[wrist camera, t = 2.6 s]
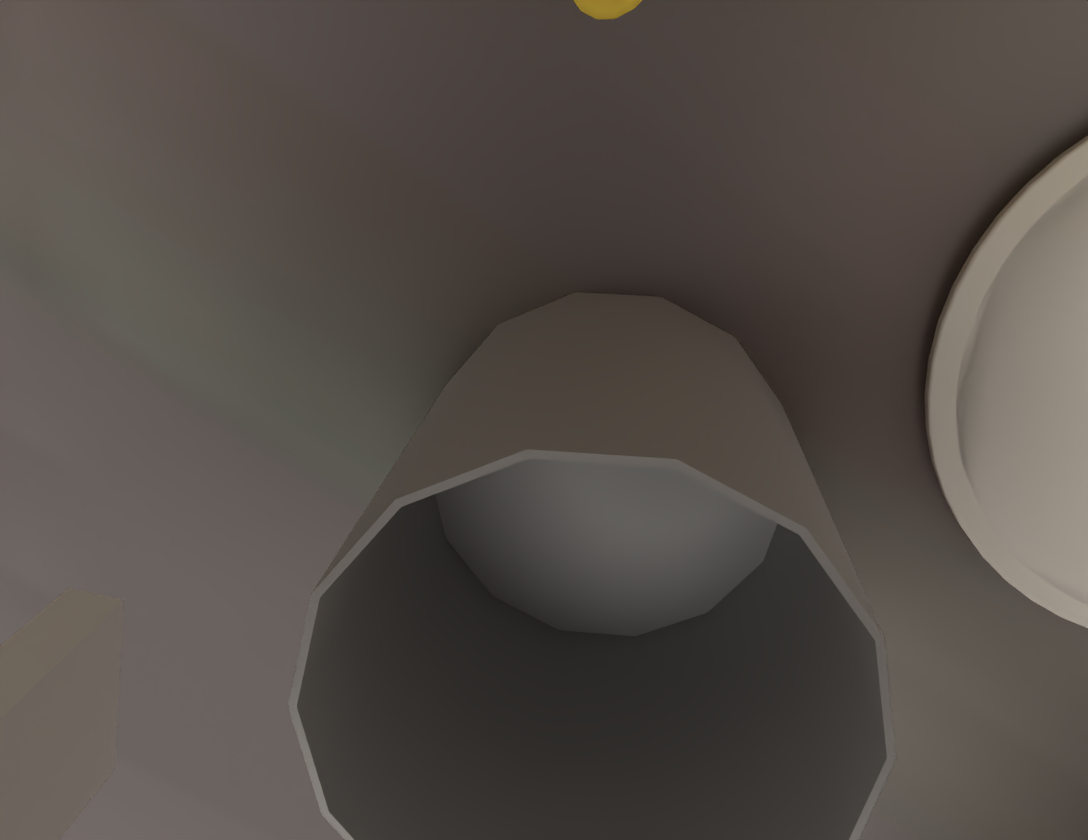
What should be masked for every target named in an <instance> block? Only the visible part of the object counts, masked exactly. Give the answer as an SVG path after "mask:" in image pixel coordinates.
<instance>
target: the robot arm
mask: <svg viewBox="0 0 1088 840" xmlns="http://www.w3.org/2000/svg"><path fill="white" fill-rule="evenodd" d="M123 611H124V600H122V599H117V598H113V597H108V596H103V595H99V594H94V593H89V592H85V591H80V590H76V589H71V588H68V589H67V590H66V591H65V592H63V593H62V594H61V595H60V596H59V597H58V598H56V599H55V600H54V601H53V602H52V603H50V604H49V605H48V606H47V607H46V608H45V609H43V610H42V611H41V612H40V613H39V614H38V615H36V616H35V617H34V618H33V619H32V620H30V621H29V622H28V623H27V624H26V625H25V626H23V627H22V628H21V629H20V630H19V631H17V632H16V633H15V634H14V635H13V636H12V637H10V638H9V639H8V640H7V641H6V642H5V643H3V644H2V645H1V646H0V840H59V839H60V838H61V837H62V835H63V834H64V833H65V832H66V830H67V829H68V828H69V827H70V825H71V824H72V823H73V821H74V820H75V819H76V818H77V816H78V815H79V814H80V813H81V811H82V810H83V809H84V808H85V806H86V805H87V804H88V802H89V801H90V800H91V799H92V797H93V796H94V795H95V794H96V792H97V791H98V790H99V789H100V787H101V786H102V785H103V783H104V782H105V781H106V780H107V778H108V777H109V776H110V775H111V773H112V772H113V771H114V767H115V749H116V732H117V715H118V698H119V680H120V663H121V646H122V628H123Z"/></svg>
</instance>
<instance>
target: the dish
mask: <svg viewBox="0 0 1088 840" xmlns="http://www.w3.org/2000/svg"><path fill="white" fill-rule="evenodd" d="M925 425H926V433H927V439H928V444H929V450H930V456H931V461H932V464H933V467H934V470H935V473H936V476H937V479H938V482H939V485H940V488H941V491H942V493H943V495H944V497H945V499H946V501H947V503H948V505H949V507H950V509H951V511H952V513H953V515H954V517H955V519H956V521H957V522H958V523H959V525H960V526H961V528H962V529H963V530H964V532H965V533H966V535H967V536H968V537H969V539H970V540H971V541H972V543H973V544H974V546H975V547H976V548H977V550H978V551H979V553H980V554H981V555H982V557H983V558H984V559H985V560H986V561H987V562H988V563H989V564H990V565H991V566H992V567H993V568H994V569H995V570H996V571H997V572H998V573H999V574H1000V575H1001V576H1002V577H1003V578H1004V579H1005V580H1006V581H1007V582H1008V583H1010V584H1011V585H1012V586H1014V587H1015V588H1016V589H1017V590H1019V591H1020V592H1021V593H1023V594H1024V595H1025V596H1027V597H1028V598H1029V599H1030V600H1032V601H1034V602H1035V603H1037V604H1039V605H1041V606H1042V607H1044V608H1046V609H1048V610H1049V611H1051V612H1053V613H1055V614H1056V615H1058V616H1060V617H1062V618H1064V619H1067V620H1069V621H1072V622H1074V623H1076V624H1079V625H1081V626H1084V627H1086V628H1088V136H1086V137H1085V138H1083V139H1082V140H1080V141H1079V142H1077V143H1076V144H1074V145H1073V146H1072V147H1070V148H1069V149H1067V150H1066V151H1064V152H1063V153H1061V154H1060V155H1059V156H1057V157H1056V158H1055V159H1054V160H1053V161H1052V162H1051V163H1049V164H1048V165H1047V166H1046V167H1045V168H1044V169H1042V170H1041V171H1040V172H1039V173H1038V174H1037V175H1036V176H1034V177H1033V178H1032V179H1031V180H1030V181H1029V182H1028V183H1026V184H1025V185H1024V186H1023V188H1022V189H1021V190H1020V191H1019V192H1018V193H1017V194H1016V195H1015V196H1014V197H1013V198H1012V200H1011V201H1010V202H1009V203H1008V204H1007V205H1006V206H1005V207H1004V208H1003V209H1002V211H1001V212H1000V213H999V214H998V215H997V216H996V217H995V219H994V220H993V221H992V223H991V224H990V226H989V227H988V228H987V230H986V231H985V233H984V234H983V235H982V237H981V238H980V239H979V241H978V242H977V244H976V245H975V246H974V248H973V249H972V251H971V253H970V254H969V256H968V258H967V260H966V262H965V263H964V265H963V267H962V269H961V271H960V272H959V274H958V276H957V278H956V280H955V281H954V283H953V285H952V287H951V290H950V292H949V295H948V298H947V300H946V303H945V305H944V308H943V310H942V313H941V315H940V318H939V320H938V323H937V327H936V331H935V335H934V339H933V343H932V347H931V351H930V354H929V359H928V368H927V377H926V386H925Z"/></svg>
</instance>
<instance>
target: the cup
mask: <svg viewBox="0 0 1088 840" xmlns="http://www.w3.org/2000/svg"><path fill="white" fill-rule="evenodd" d="M288 708H289V711H290V714H291V717H292V721H293V724H294V727H295V730H296V733H297V737H298V740H299V743H300V746H301V749H302V753H303V756H304V759H305V762H306V766H307V769H308V772H309V775H310V778H311V782H312V785H313V788H314V791H315V795H316V798H317V801H318V804H319V807H320V811H321V814H322V815H323V816H324V817H325V818H326V820H327V821H328V822H329V823H330V824H331V825H332V826H333V827H334V828H335V829H336V830H337V832H338V833H339V834H340V835H341V836H342V837H343V838H344V839H345V840H858V839H859V837H860V835H861V833H862V831H863V829H864V827H865V825H866V822H867V820H868V818H869V816H870V814H871V812H872V810H873V808H874V805H875V803H876V801H877V799H878V797H879V795H880V793H881V791H882V788H883V786H884V784H885V782H886V780H887V778H888V776H889V774H890V771H891V769H892V767H893V765H894V763H895V761H896V749H895V738H894V728H893V718H892V707H891V697H890V687H889V677H888V666H887V656H886V646H885V637H884V635H883V633H882V631H881V628H880V626H879V624H878V621H877V619H876V617H875V615H874V612H873V610H872V608H871V606H870V603H869V601H868V599H867V597H866V594H865V592H864V590H863V587H862V585H861V583H860V581H859V578H858V576H857V574H856V572H855V569H854V567H853V565H852V562H851V560H850V558H849V556H848V553H847V551H846V549H845V547H844V544H843V542H842V540H841V538H840V535H839V533H838V531H837V528H836V526H835V524H834V522H833V519H832V517H831V515H830V513H829V510H828V508H827V506H826V503H825V501H824V499H823V497H822V494H821V492H820V490H819V488H818V485H817V483H816V481H815V479H814V476H813V474H812V472H811V469H810V467H809V465H808V463H807V460H806V458H805V456H804V454H803V451H802V449H801V447H800V444H799V442H798V440H797V438H796V435H795V433H794V431H793V429H792V426H791V424H790V422H789V419H788V417H787V415H786V413H785V410H784V408H783V406H782V404H781V402H780V401H779V399H778V398H777V396H776V395H775V394H774V392H773V391H772V389H771V388H770V386H769V385H768V384H767V382H766V381H765V379H764V378H763V376H762V375H761V373H760V372H759V371H758V369H757V368H756V366H755V365H754V363H753V362H752V361H751V359H750V358H749V356H748V355H747V353H746V352H745V350H744V349H743V348H742V346H741V345H740V343H739V342H738V340H737V339H736V338H735V337H734V336H732V335H730V334H729V333H727V332H725V331H723V330H721V329H719V328H718V327H716V326H714V325H712V324H710V323H708V322H707V321H705V320H703V319H701V318H699V317H697V316H696V315H694V314H692V313H690V312H688V311H686V310H685V309H683V308H681V307H679V306H677V305H675V304H674V303H672V302H670V301H668V300H666V299H664V298H663V297H658V296H639V295H620V294H601V293H583V292H575V293H572V294H570V295H567V296H565V297H563V298H560V299H558V300H555V301H553V302H550V303H548V304H546V305H543V306H541V307H538V308H536V309H534V310H531V311H529V312H526V313H524V314H521V315H519V316H517V317H514V318H512V319H509V320H507V321H505V322H502V323H500V324H498V325H497V326H496V328H495V329H494V330H493V331H492V332H491V333H490V335H489V336H488V337H487V338H486V339H485V340H484V341H483V343H482V344H481V345H480V346H479V347H478V348H477V349H476V351H475V352H474V353H473V354H472V355H471V356H470V358H469V359H468V360H467V361H466V362H465V363H464V364H463V366H462V367H461V368H460V369H459V370H458V371H457V372H456V374H455V375H454V376H453V377H452V378H451V379H450V381H449V382H448V383H447V384H446V386H445V387H444V389H443V390H442V392H441V393H440V395H439V397H438V398H437V400H436V401H435V403H434V404H433V406H432V407H431V409H430V411H429V412H428V414H427V415H426V417H425V418H424V420H423V421H422V423H421V424H420V426H419V428H418V429H417V431H416V432H415V434H414V435H413V437H412V438H411V440H410V442H409V443H408V445H407V446H406V448H405V449H404V451H403V452H402V454H401V455H400V457H399V459H398V460H397V462H396V463H395V465H394V466H393V468H392V469H391V471H390V473H389V474H388V476H387V477H386V479H385V480H384V482H383V483H382V485H381V486H380V488H379V490H378V491H377V493H376V494H375V496H374V497H373V499H372V500H371V502H370V504H369V505H368V507H367V508H366V510H365V511H364V513H363V514H362V516H361V517H360V519H359V521H358V522H357V524H356V525H355V527H354V528H353V530H352V531H351V533H350V535H349V536H348V538H347V539H346V541H345V542H344V544H343V545H342V547H341V548H340V550H339V552H338V553H337V555H336V556H335V558H334V559H333V561H332V562H331V564H330V566H329V567H328V569H327V570H326V572H325V573H324V575H323V576H322V578H321V580H320V581H319V583H318V584H317V586H316V587H315V589H314V590H313V592H312V594H311V599H310V603H309V608H308V613H307V618H306V622H305V627H304V632H303V637H302V641H301V646H300V651H299V656H298V661H297V665H296V670H295V675H294V680H293V684H292V689H291V694H290V699H289V703H288Z"/></svg>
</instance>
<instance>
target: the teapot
mask: <svg viewBox="0 0 1088 840" xmlns="http://www.w3.org/2000/svg"><path fill="white" fill-rule="evenodd" d="M573 1H574V2H575V3H576V5H577V6H578V8H579V9H580V10H581V11H582V12H584V13H586V14H588V15H589V16H591V17H593V18H595V19H616V18H618V17H620V16H622V15H623V14H625V13H627V12H629V11H631V10H633V9H634V8H635V7H636V6H637V5H638V4H639V3H640V2H641V1H642V0H573Z"/></svg>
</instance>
